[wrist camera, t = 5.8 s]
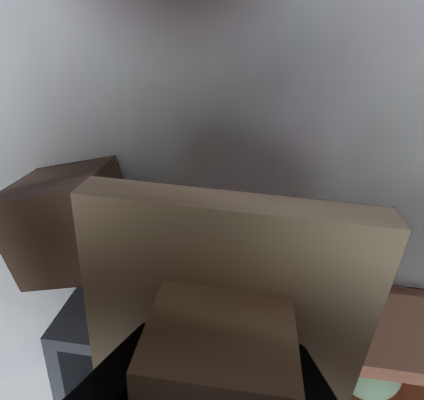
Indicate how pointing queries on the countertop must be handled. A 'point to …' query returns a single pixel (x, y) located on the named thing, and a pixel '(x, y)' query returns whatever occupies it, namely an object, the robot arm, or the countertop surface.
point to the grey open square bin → (68, 347)
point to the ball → (375, 389)
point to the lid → (232, 286)
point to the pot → (399, 344)
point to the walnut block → (46, 224)
